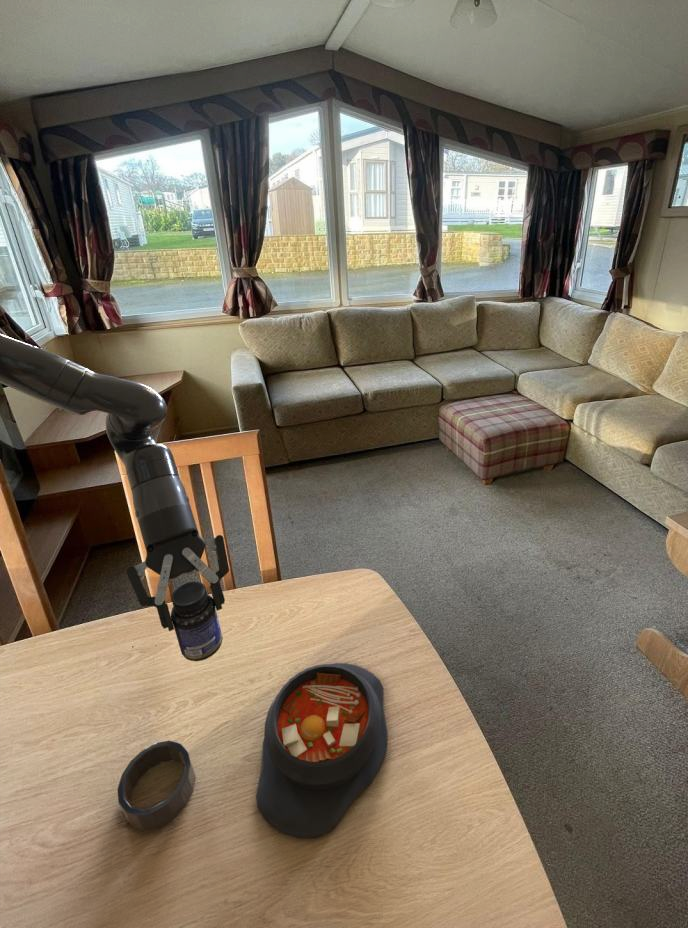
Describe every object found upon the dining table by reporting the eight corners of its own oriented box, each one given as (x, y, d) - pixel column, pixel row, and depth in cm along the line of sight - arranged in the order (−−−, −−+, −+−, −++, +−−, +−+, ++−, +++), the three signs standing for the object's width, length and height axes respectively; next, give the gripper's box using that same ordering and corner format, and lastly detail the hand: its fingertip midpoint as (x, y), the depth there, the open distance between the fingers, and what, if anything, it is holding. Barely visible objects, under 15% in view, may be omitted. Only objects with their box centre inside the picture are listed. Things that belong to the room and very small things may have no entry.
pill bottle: (231, 640, 75) (220, 587, 71) (198, 670, 71) (184, 616, 66) (205, 623, 78) (192, 571, 74) (172, 650, 74) (156, 598, 69)
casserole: (308, 658, 86) (304, 625, 83) (408, 688, 81) (408, 654, 77) (225, 814, 65) (214, 779, 62) (352, 870, 60) (349, 835, 56)
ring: (117, 841, 63) (107, 821, 61) (138, 767, 71) (129, 746, 69) (189, 828, 64) (182, 807, 62) (201, 756, 72) (195, 735, 70)
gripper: (210, 501, 81) (242, 600, 77) (114, 532, 74) (143, 642, 70) (213, 490, 74) (247, 597, 70) (108, 523, 67) (140, 643, 63)
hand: (195, 619), depth 70 cm, fingers closed on pill bottle, 6 cm apart
